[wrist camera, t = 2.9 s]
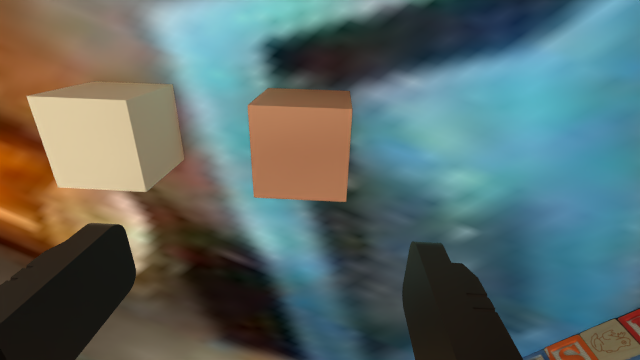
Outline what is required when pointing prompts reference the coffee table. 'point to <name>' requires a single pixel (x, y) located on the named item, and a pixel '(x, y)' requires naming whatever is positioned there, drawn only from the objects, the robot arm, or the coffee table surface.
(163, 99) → the cream cube
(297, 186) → the terracotta cube
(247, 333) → the coffee table surface
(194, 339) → the coffee table surface
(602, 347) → the stack of blocks
